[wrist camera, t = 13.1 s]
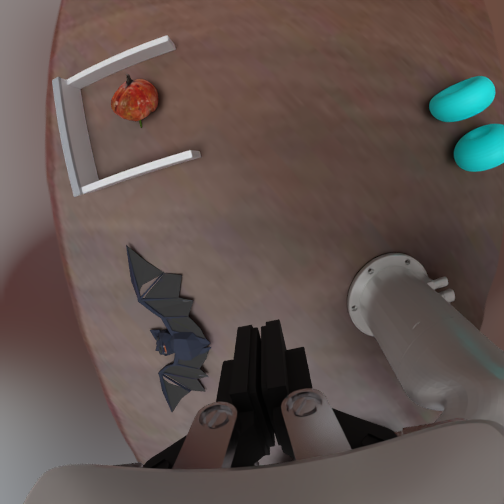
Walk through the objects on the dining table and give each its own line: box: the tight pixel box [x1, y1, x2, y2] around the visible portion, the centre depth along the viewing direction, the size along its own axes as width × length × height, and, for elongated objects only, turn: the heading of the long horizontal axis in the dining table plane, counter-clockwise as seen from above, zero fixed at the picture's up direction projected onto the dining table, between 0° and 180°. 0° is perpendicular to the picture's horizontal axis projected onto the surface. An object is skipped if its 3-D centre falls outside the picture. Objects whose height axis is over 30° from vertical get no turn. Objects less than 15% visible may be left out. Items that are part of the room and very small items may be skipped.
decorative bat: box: [126, 245, 211, 412], centre depth 42 cm, size 30×4×10 cm
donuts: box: [429, 76, 504, 172], centre depth 28 cm, size 10×10×10 cm
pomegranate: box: [111, 74, 158, 128], centre depth 32 cm, size 6×6×8 cm
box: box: [52, 36, 201, 197], centre depth 32 cm, size 15×16×6 cm
